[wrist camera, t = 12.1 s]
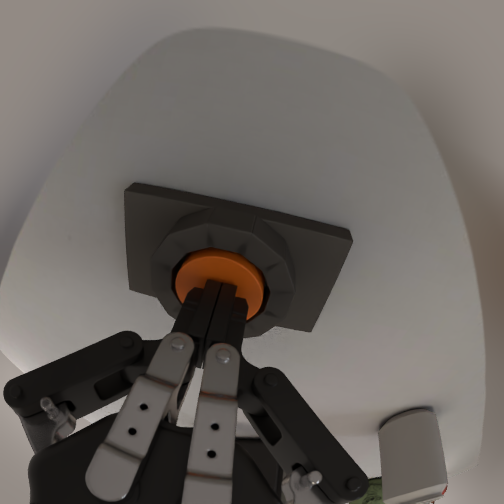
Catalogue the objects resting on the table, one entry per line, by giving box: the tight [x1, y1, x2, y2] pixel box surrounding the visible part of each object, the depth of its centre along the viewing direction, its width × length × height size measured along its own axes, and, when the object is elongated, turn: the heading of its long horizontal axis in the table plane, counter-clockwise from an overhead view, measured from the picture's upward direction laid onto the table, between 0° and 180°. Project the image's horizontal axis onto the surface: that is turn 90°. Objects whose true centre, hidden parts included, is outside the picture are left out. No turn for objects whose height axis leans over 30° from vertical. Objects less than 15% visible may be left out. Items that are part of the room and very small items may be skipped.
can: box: [378, 409, 448, 504], centre depth 22 cm, size 8×8×12 cm
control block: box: [124, 183, 353, 338], centre depth 16 cm, size 12×7×3 cm, turn 79°
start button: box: [175, 247, 265, 320], centre depth 15 cm, size 4×4×2 cm
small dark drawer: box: [238, 443, 279, 493], centre depth 31 cm, size 18×11×8 cm, turn 16°
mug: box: [349, 478, 385, 504], centre depth 45 cm, size 16×13×9 cm
